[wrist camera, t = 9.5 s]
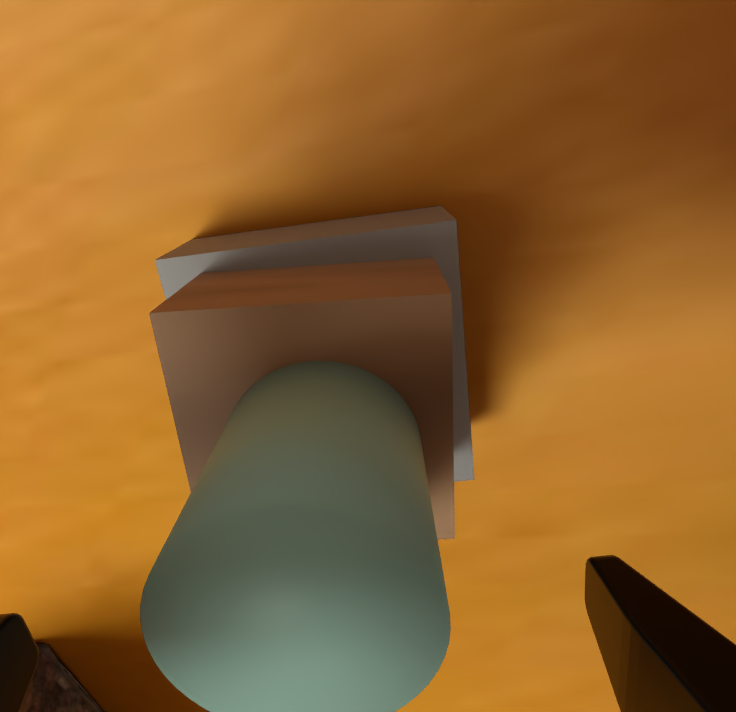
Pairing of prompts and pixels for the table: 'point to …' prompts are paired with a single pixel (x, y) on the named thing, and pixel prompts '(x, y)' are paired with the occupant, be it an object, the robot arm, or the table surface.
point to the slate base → (336, 246)
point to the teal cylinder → (304, 555)
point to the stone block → (55, 688)
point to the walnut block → (312, 348)
